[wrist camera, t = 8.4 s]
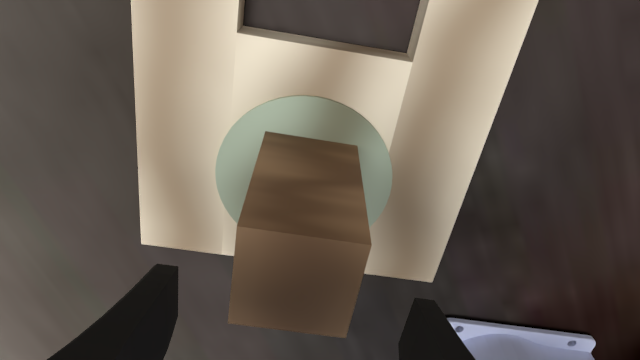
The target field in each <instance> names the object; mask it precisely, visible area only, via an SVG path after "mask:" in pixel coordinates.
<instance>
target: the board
mask: <svg viewBox="0 0 640 360" xmlns="http://www.w3.org/2000/svg"><path fill="white" fill-rule="evenodd" d="M538 1H539V0H420V3H419V7H418V11H417V15H416V19H415V23H414V27H413V31H412V35H411V39H410V43H409V46H408V50H407V53H402V52H396V51H390V50H384V49H378V48H372V47H367V46H361V45H355V44H349V43H343V42H337V41H331V40H325V39H319V38H313V37H307V36H302V35H296V34H290V33H284V32H278V31H272V30H266V29H260V28H254V27H248V26H243V18H244V5H245V0H131V14H132V38H133V61H134V85H135V108H136V131H137V155H138V178H139V202H140V225H141V244H146V245H154V246H161V247H169V248H177V249H184V250H192V251H199V252H207V253H214V254H222V255H229V256H234V251H235V240H236V230H237V224H238V221H239V217H240V214H241V211H242V207H243V204H244V201H245V197H246V194H247V191H248V187H249V184H250V181H251V177H252V174H253V171H254V167H255V164H256V161H257V157H258V154H259V151H260V147H261V144H262V141H263V137H264V134H265V131H268V132H274V133H280V134H287V135H293V136H299V137H306V138H312V139H319V140H325V141H331V142H338V143H344V144H350V145H357V147H358V154H359V161H360V168H361V175H362V182H363V188H364V195H365V202H366V209H367V216H368V223H369V230H370V237H371V244H372V246H371V250H370V253H369V257H368V261H367V264H366V268H365V271H364V274H372V275H379V276H387V277H394V278H402V279H409V280H417V281H425V282H433V279H434V276H435V274H436V271H437V268H438V266H439V263H440V261H441V258H442V255H443V253H444V250H445V247H446V245H447V242H448V239H449V237H450V234H451V231H452V229H453V226H454V223H455V221H456V218H457V215H458V213H459V210H460V207H461V205H462V202H463V200H464V197H465V194H466V192H467V189H468V186H469V184H470V181H471V178H472V176H473V173H474V170H475V168H476V165H477V162H478V160H479V157H480V154H481V152H482V149H483V146H484V144H485V141H486V139H487V136H488V133H489V131H490V128H491V125H492V123H493V120H494V117H495V115H496V112H497V109H498V107H499V104H500V101H501V99H502V96H503V93H504V91H505V88H506V85H507V83H508V80H509V78H510V75H511V72H512V70H513V67H514V64H515V62H516V59H517V56H518V54H519V51H520V48H521V46H522V43H523V40H524V38H525V35H526V32H527V30H528V27H529V24H530V22H531V19H532V17H533V14H534V11H535V9H536V6H537V3H538Z"/></svg>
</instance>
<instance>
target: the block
mask: <svg viewBox="0 0 640 360" xmlns="http://www.w3.org/2000/svg"><path fill="white" fill-rule="evenodd" d="M371 246H372V244H371V237H370V230H369V223H368V216H367V209H366V202H365V195H364V188H363V182H362V175H361V168H360V161H359V154H358V147H357V145H350V144H344V143H338V142H331V141H325V140H319V139H312V138H306V137H299V136H293V135H287V134H280V133H274V132H268V131H265V134H264V137H263V141H262V144H261V147H260V151H259V154H258V157H257V161H256V164H255V167H254V171H253V174H252V177H251V181H250V184H249V187H248V191H247V194H246V197H245V201H244V204H243V207H242V211H241V214H240V217H239V221H238V224H237V230H236V240H235V251H234V262H233V273H232V284H231V295H230V306H229V316H228V323H230V324H238V325H246V326H254V327H261V328H269V329H277V330H285V331H293V332H301V333H309V334H317V335H325V336H333V337H341V338H346V335H347V332H348V328H349V325H350V321H351V318H352V314H353V310H354V307H355V303H356V300H357V296H358V293H359V289H360V286H361V282H362V278H363V275H364V271H365V268H366V264H367V261H368V257H369V253H370V250H371Z"/></svg>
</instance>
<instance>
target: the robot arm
mask: <svg viewBox="0 0 640 360" xmlns="http://www.w3.org/2000/svg"><path fill="white" fill-rule="evenodd" d="M177 317H178V267H177V266H170V265H162V264H157V265H155V266H154V267H153V268H152V269H151V270H150V271H149V272H148V273H147V274H146V275H145V276H144V277H143V278H142V279H141V280H140V281H139V282H138V283H137V284H136V285H135V286H134V287H133V288H132V289H131V290H130V291H129V292H128V293H127V294H126V295H125V296H124V297H123V298H122V299H120V300H119V301H118V302H117V303H116V304H115V305H114V306H113V307H112V308H111V309H110V310H109V311H107V312H106V313H105V314H104V315H103V316H102V317H101V318H99V319H98V320H97V321H96V322H95V323H93V324H92V325H91V326H90V327H89V328H87V329H86V330H85V331H84V332H83V333H81V334H80V335H79V336H78V337H77V338H75V339H74V340H73V341H71V342H70V343H69V344H68V345H66V346H65V347H64V348H62V349H61V350H59V351H58V352H57V353H55V354H54V355H53V356H51V357H50V358H48V359H47V360H163V358H164V356H165V354H166V352H167V349H168V346H169V343H170V340H171V337H172V334H173V330H174V327H175V324H176V320H177ZM458 326H460V327H458ZM595 345H596V342H595V340H594V339H593V337H592V336H589V335H583V334H575V333H567V332H559V331H551V330H544V329H536V328H528V327H520V326H512V325H505V324H497V323H489V322H481V321H473V320H465V319H458V318H446V317H445V315H444V314H443V312H442V311H441V309H440V308H439V307H438V305H437V304H436V302H435V301H434V300H427V299H420V298H415V299H414V302H413V305H412V307H411V310H410V313H409V316H408V319H407V321H406V324H405V327H404V330H403V332H402V335H401V338H400V341H399V360H595V359H594V358H593V356H592V355H591V351H592V350H593V348H594V347H595Z"/></svg>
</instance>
